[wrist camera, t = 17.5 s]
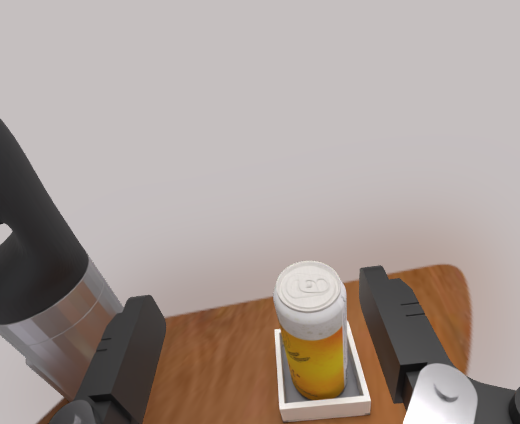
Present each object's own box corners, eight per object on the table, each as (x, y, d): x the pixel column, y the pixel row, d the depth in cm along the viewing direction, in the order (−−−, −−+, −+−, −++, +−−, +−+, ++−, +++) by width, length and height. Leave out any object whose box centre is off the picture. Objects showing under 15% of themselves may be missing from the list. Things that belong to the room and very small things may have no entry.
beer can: (292, 348, 37) (274, 258, 28) (344, 349, 36) (342, 256, 27) (290, 403, 32) (267, 315, 24) (350, 406, 31) (350, 315, 22)
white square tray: (283, 422, 31) (279, 409, 30) (278, 343, 38) (274, 329, 37) (369, 414, 30) (371, 400, 29) (348, 335, 38) (348, 320, 36)
